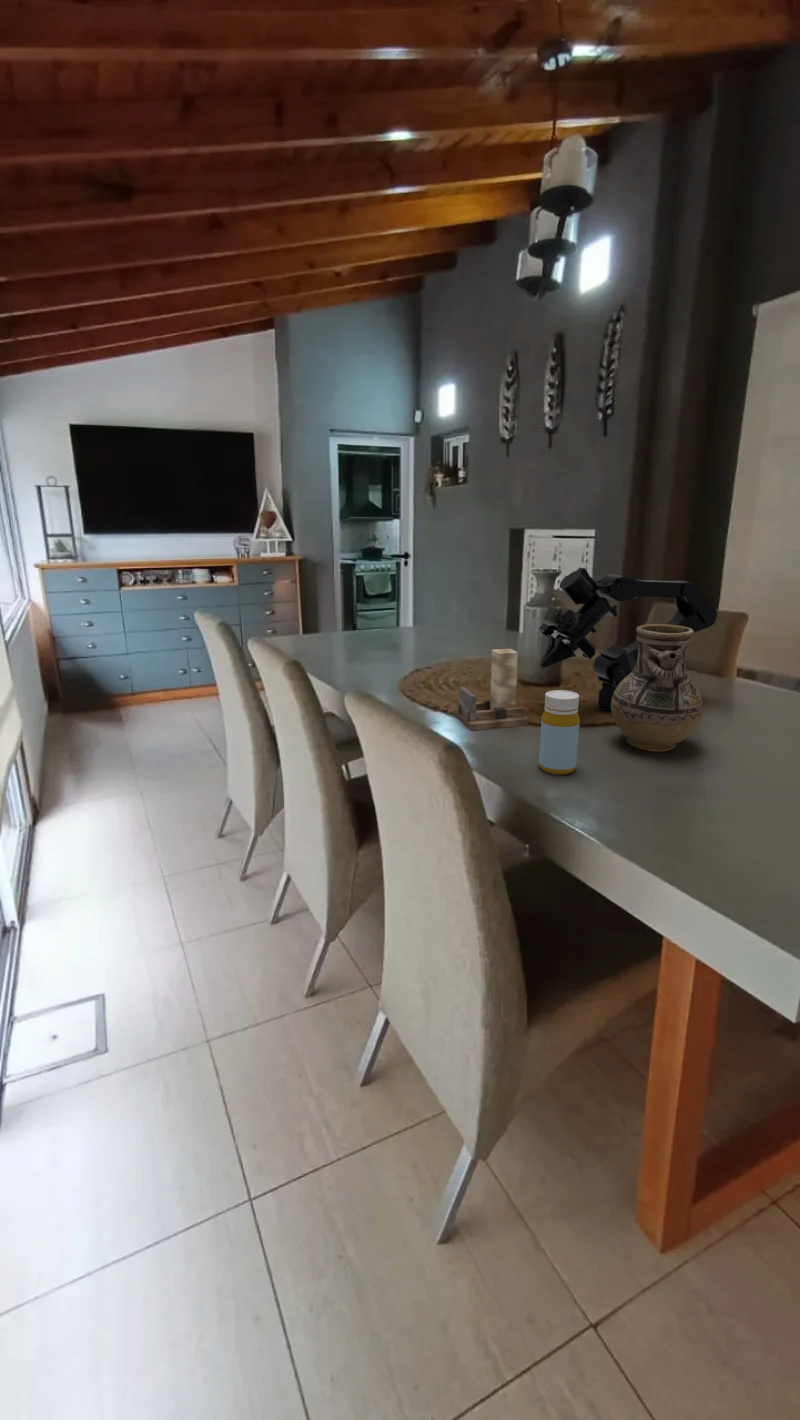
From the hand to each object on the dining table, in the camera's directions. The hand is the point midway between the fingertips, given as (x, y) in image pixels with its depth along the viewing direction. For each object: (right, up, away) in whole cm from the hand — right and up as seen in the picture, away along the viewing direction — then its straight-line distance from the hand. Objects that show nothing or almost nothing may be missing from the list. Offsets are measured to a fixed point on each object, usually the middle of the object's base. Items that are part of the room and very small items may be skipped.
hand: (541, 666), depth 153 cm
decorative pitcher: (+20, -18, -16) cm, 31 cm away
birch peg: (-9, -11, +1) cm, 14 cm away
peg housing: (-12, -13, +1) cm, 18 cm away
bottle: (-3, -22, -28) cm, 36 cm away
